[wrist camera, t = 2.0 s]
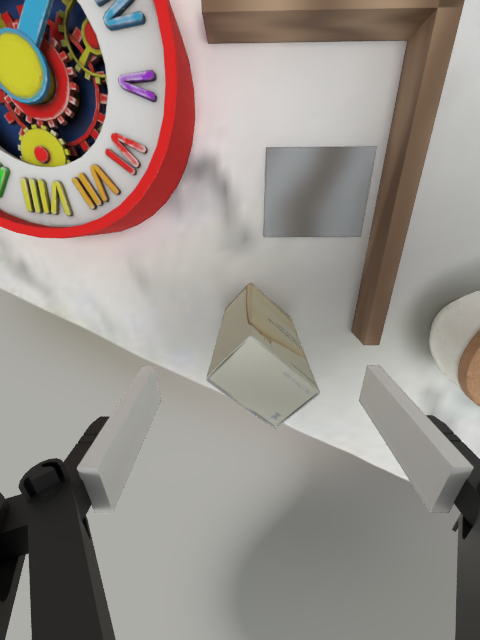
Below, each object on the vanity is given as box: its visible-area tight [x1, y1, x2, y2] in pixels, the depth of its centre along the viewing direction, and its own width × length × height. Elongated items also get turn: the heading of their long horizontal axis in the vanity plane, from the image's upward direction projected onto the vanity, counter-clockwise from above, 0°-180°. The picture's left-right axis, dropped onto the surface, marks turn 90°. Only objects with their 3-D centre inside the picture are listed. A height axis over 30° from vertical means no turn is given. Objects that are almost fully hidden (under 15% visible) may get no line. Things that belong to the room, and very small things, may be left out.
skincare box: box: [207, 283, 320, 428], centre depth 21 cm, size 6×4×12 cm
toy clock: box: [0, 0, 195, 238], centre depth 17 cm, size 20×6×20 cm
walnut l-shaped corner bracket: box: [201, 0, 464, 345], centre depth 21 cm, size 16×25×3 cm, turn 0°
